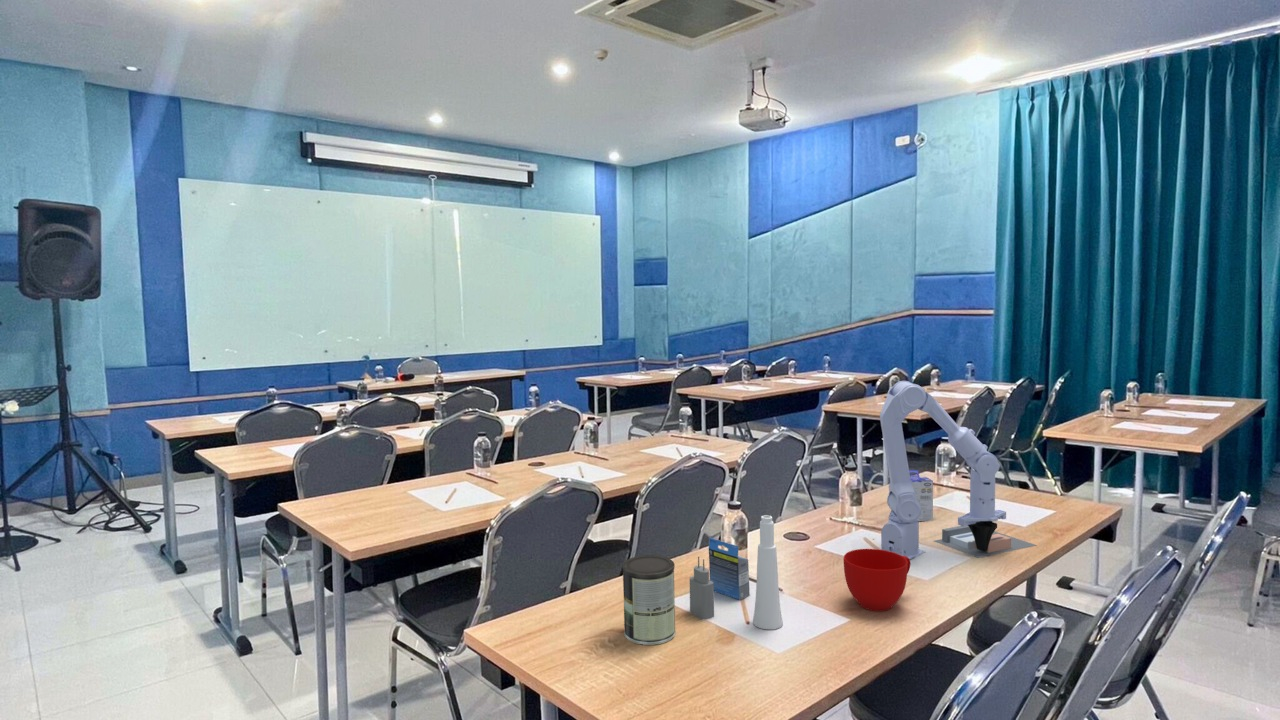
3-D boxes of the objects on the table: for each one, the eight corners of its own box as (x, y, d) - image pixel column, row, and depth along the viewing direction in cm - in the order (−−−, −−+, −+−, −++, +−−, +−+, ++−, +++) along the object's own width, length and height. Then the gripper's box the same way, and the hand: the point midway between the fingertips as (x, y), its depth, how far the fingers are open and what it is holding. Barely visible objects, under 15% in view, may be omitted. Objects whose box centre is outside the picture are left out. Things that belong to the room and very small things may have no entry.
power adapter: (700, 607, 151) (699, 552, 150) (715, 616, 146) (714, 560, 145) (688, 610, 149) (687, 555, 148) (703, 620, 144) (702, 563, 143)
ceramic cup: (933, 604, 149) (934, 558, 149) (877, 623, 141) (877, 574, 140) (885, 584, 161) (885, 541, 160) (830, 600, 152) (830, 555, 152)
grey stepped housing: (964, 549, 181) (965, 537, 181) (942, 541, 188) (942, 529, 188) (993, 543, 185) (993, 531, 185) (969, 535, 192) (969, 524, 192)
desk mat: (977, 559, 175) (977, 557, 175) (933, 542, 188) (933, 540, 188) (1037, 546, 183) (1037, 545, 183) (990, 531, 196) (990, 529, 196)
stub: (988, 552, 178) (988, 542, 178) (975, 547, 182) (975, 537, 182) (1011, 547, 181) (1011, 537, 181) (997, 543, 185) (997, 533, 185)
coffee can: (613, 636, 138) (611, 566, 137) (645, 617, 146) (644, 551, 145) (654, 651, 132) (652, 577, 131) (686, 631, 140) (685, 561, 139)
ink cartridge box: (927, 516, 212) (927, 469, 211) (934, 521, 206) (934, 473, 205) (893, 516, 212) (894, 469, 211) (900, 522, 206) (900, 473, 205)
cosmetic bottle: (775, 632, 138) (774, 522, 136) (747, 625, 141) (746, 518, 140) (787, 621, 143) (786, 515, 141) (760, 614, 146) (759, 510, 145)
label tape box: (750, 595, 156) (749, 541, 155) (738, 601, 153) (738, 546, 152) (720, 585, 162) (719, 533, 162) (708, 590, 160) (707, 537, 159)
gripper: (974, 504, 171) (973, 559, 172) (1016, 497, 177) (1016, 550, 178) (951, 498, 178) (950, 550, 179) (993, 491, 183) (992, 542, 184)
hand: (981, 549), depth 179 cm, fingers closed
